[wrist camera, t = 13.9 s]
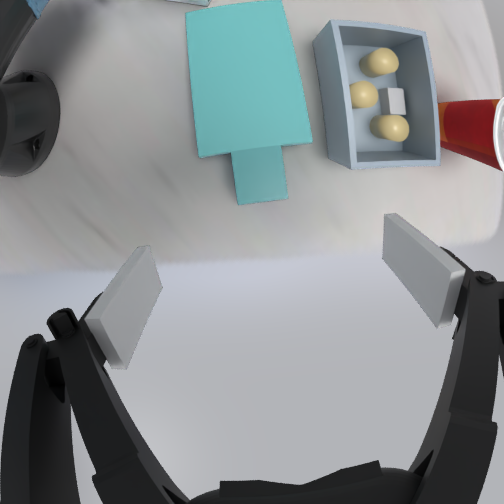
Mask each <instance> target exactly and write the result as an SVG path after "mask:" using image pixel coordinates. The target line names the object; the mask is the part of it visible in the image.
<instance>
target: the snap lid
mask: <svg viewBox="0 0 504 504" xmlns="http://www.w3.org/2000/svg"><path fill="white" fill-rule="evenodd" d="M185 14H186V30H187V44H188V57H189V69H190V81H191V91H192V101H193V111H194V121H195V130H196V139H197V147H198V155H199V158H205V157H210V156H216V155H222V154H229V153H231V158H232V165H233V173H234V180H235V187H236V195H237V202H238V205H244V204H252V203H259V202H267V201H275V200H283V199H288V192H287V185H286V177H285V170H284V163H283V157H282V150H281V146H291V145H301V144H311V143H312V142H313V140H312V134H311V128H310V123H309V117H308V112H307V107H306V101H305V96H304V91H303V87H302V82H301V77H300V73H299V68H298V64H297V59H296V55H295V51H294V47H293V42H292V38H291V34H290V31H289V27H288V23H287V19H286V16H285V12H284V8H283V5H282V1H281V0H269V1H256V2H246V3H238V4H231V5H224V6H218V7H212V8H207V9H202V10H197V11H192V12H188V13H185Z"/></svg>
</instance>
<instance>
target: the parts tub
mask: <svg viewBox="0 0 504 504" xmlns="http://www.w3.org/2000/svg"><path fill="white" fill-rule="evenodd" d="M313 48H314V53H315V59H316V65H317V71H318V77H319V84H320V91H321V98H322V105H323V113H324V121H325V130H326V139H327V149H328V158H329V159H331V160H333V161H335V162H337V163H339V164H341V165H343V166H345V167H347V168H349V169H351V170H353V169H368V168H385V167H410V166H440V129H439V114H438V103H437V94H436V86H435V79H434V72H433V66H432V60H431V55H430V50H429V45H428V40H427V36H426V32H425V31H420V30H415V29H410V28H405V27H399V26H393V25H386V24H379V23H370V22H361V21H348V20H330V21H329V22H328V23H327V24H326V26H325V27H324V28H323V29H322V31H321V32H320V33H319V34H318V35H317V37H316V38H315V39H314V40H313Z"/></svg>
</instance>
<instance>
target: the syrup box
mask: <svg viewBox="0 0 504 504" xmlns="http://www.w3.org/2000/svg"><path fill="white" fill-rule="evenodd" d="M168 1H176V2H183V3H190V4H196V5H202V6H208V5H209V3H210V1H211V0H168Z"/></svg>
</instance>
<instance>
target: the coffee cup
mask: <svg viewBox="0 0 504 504" xmlns="http://www.w3.org/2000/svg"><path fill="white" fill-rule="evenodd" d="M438 114H439V129H440V147H443V148H445V149H448V150H451V151H453V152H456V153H459V154H461V155H464V156H467V157H469V158H472V159H474V160H477V161H479V162H482V163H484V164H487V165H489V166H491V167H494V168H496V169H498V170H501V171H503V172H504V97H502V98H501V99H489V100H468V101H455V102H445V103H439V104H438Z"/></svg>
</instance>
